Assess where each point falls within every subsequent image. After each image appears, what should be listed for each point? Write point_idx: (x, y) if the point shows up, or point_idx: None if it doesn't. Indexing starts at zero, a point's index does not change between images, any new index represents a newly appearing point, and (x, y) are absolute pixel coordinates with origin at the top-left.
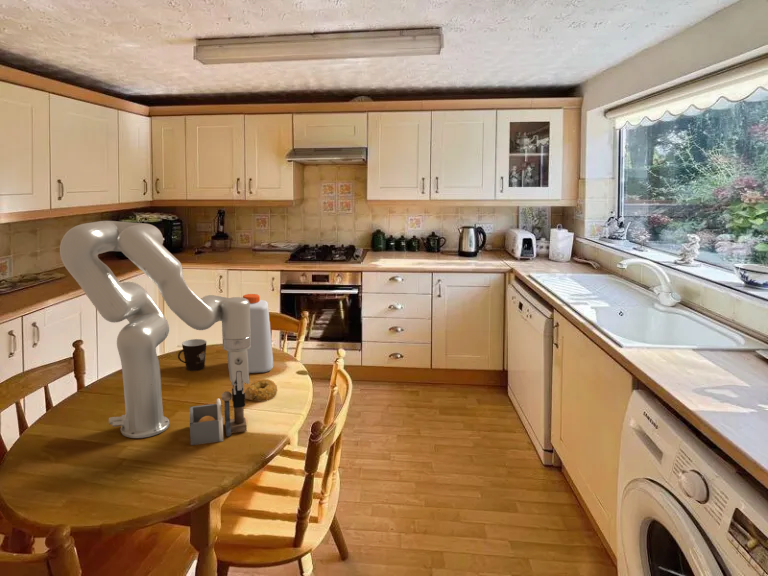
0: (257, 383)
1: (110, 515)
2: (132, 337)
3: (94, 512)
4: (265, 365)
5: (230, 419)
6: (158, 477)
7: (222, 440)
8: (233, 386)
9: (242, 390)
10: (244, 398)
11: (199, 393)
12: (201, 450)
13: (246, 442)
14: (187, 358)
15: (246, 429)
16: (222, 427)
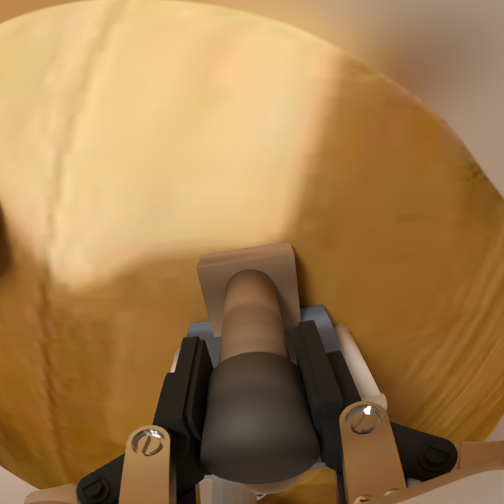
0: None
1: (500, 412)
2: None
3: (482, 431)
4: None
5: (215, 332)
6: (453, 406)
7: (346, 327)
8: (196, 484)
9: (445, 442)
10: (329, 363)
11: (5, 391)
12: (384, 370)
13: (381, 234)
14: None
15: (289, 244)
16: (362, 361)
